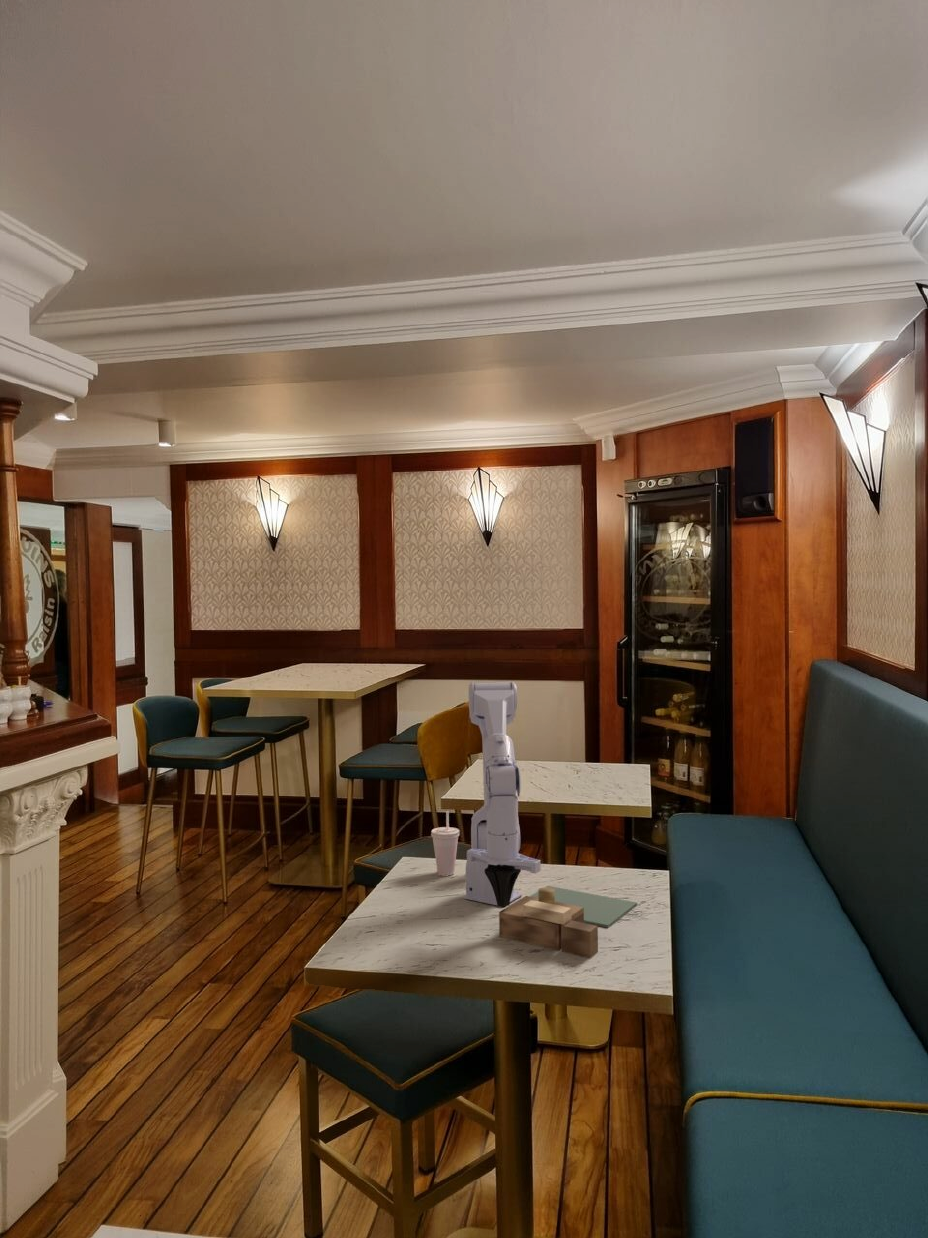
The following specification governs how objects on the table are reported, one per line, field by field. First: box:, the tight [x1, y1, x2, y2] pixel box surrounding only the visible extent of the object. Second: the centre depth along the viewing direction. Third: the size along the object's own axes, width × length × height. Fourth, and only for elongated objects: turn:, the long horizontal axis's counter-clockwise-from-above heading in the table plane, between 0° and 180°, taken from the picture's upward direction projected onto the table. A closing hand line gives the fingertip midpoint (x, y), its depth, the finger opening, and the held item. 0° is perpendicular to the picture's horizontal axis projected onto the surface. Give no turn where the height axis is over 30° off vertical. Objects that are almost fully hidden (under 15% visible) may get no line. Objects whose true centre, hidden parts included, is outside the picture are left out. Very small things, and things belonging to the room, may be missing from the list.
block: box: [523, 900, 571, 925], centre depth 153 cm, size 8×3×2 cm, turn 57°
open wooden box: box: [498, 913, 599, 959], centre depth 156 cm, size 18×10×4 cm, turn 57°
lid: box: [498, 886, 584, 931], centre depth 158 cm, size 12×10×4 cm
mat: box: [529, 885, 638, 929], centre depth 172 cm, size 20×14×1 cm
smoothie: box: [430, 810, 460, 877], centre depth 194 cm, size 6×6×14 cm
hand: (503, 905), depth 158 cm, fingers closed
